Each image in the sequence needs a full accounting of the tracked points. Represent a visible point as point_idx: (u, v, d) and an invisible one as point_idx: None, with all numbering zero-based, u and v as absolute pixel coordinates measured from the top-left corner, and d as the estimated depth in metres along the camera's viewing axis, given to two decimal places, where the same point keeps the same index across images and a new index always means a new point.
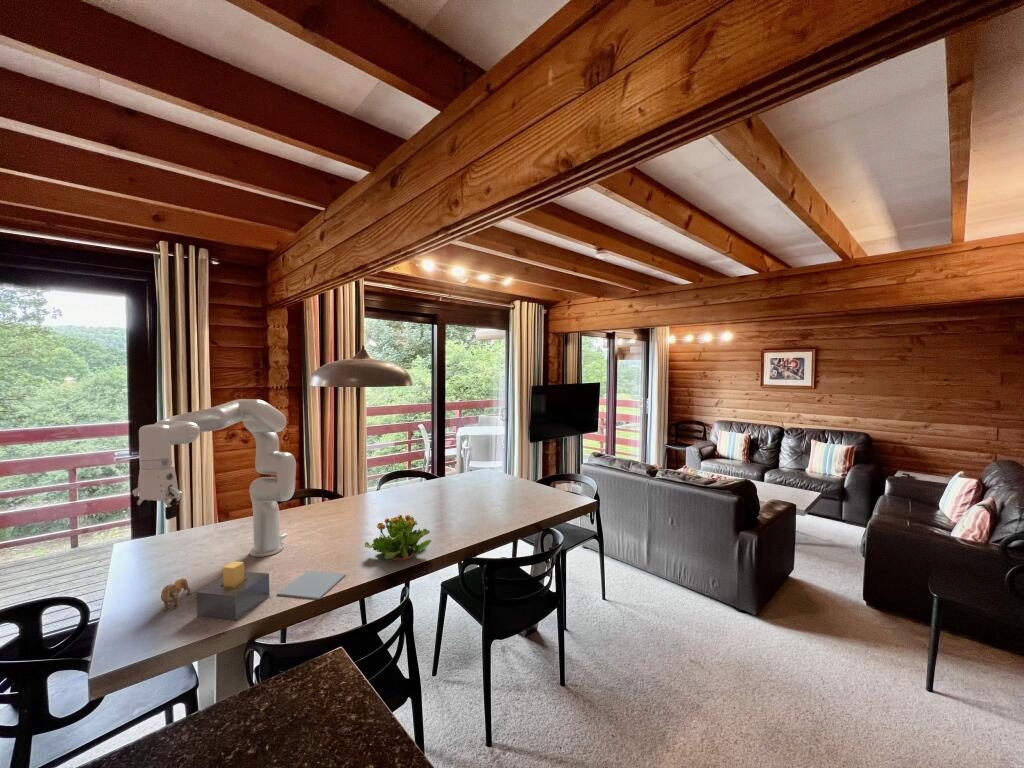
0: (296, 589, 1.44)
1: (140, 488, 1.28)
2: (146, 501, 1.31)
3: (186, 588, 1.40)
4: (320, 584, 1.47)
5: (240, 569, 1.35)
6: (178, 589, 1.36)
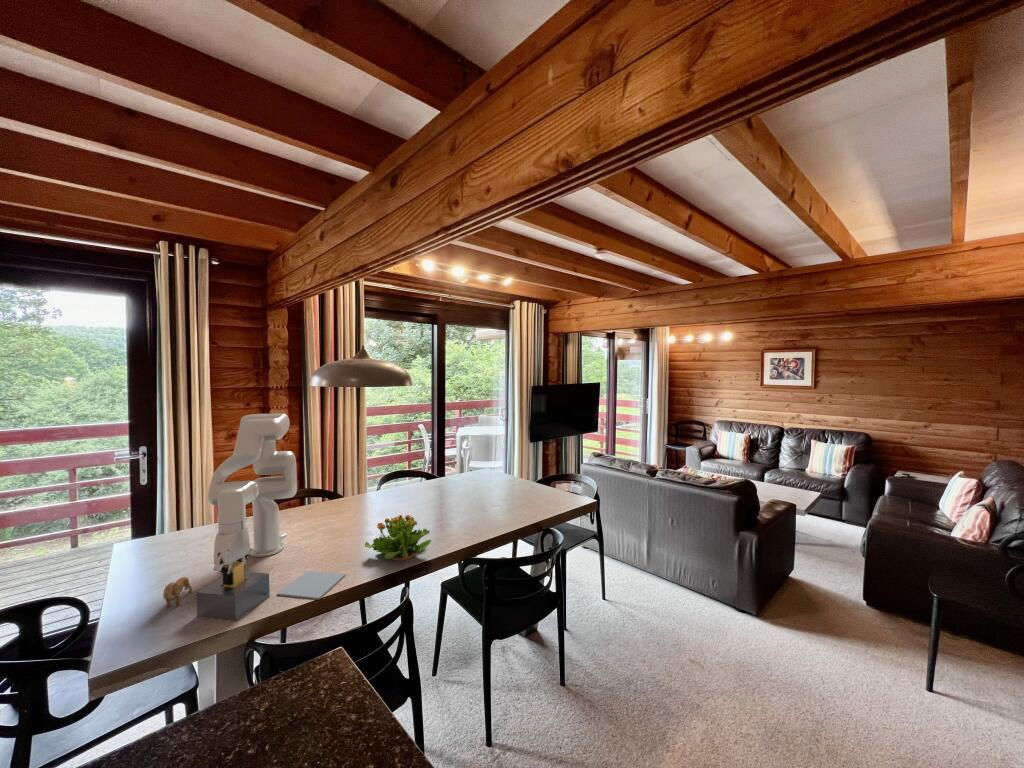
0: (296, 589, 1.44)
1: (230, 553, 1.30)
2: None
3: (188, 586, 1.41)
4: (320, 584, 1.47)
5: (240, 569, 1.35)
6: (180, 587, 1.37)
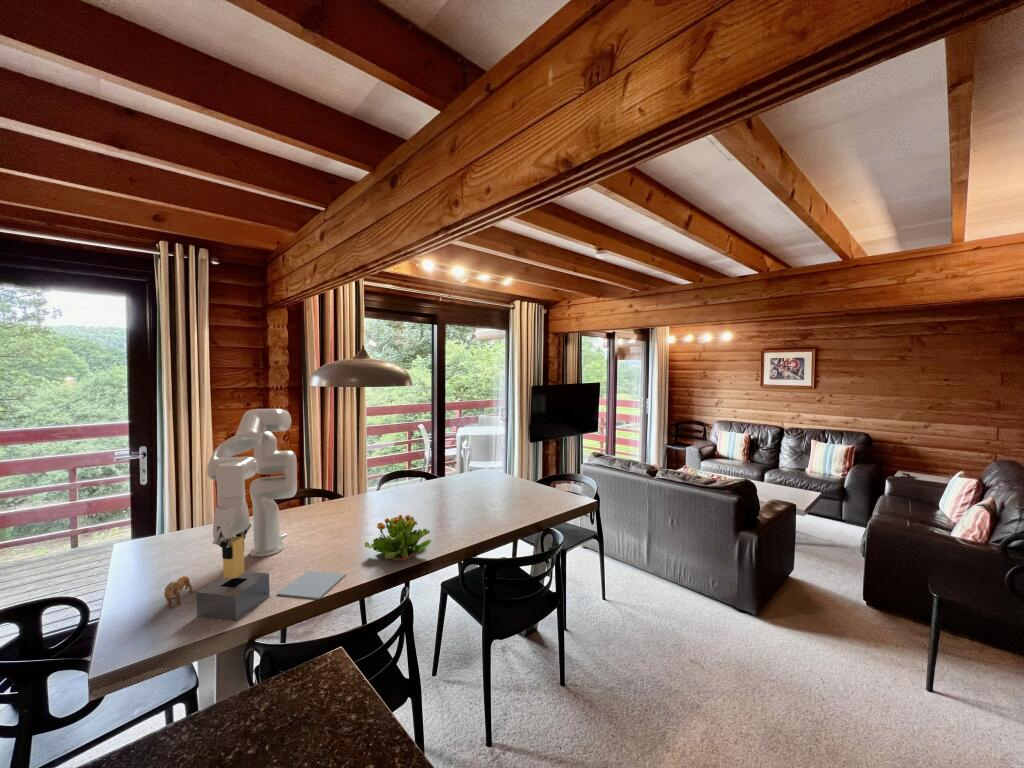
0: (296, 589, 1.44)
1: (229, 527, 1.30)
2: None
3: (188, 585, 1.42)
4: (320, 584, 1.47)
5: (240, 544, 1.35)
6: (181, 586, 1.38)
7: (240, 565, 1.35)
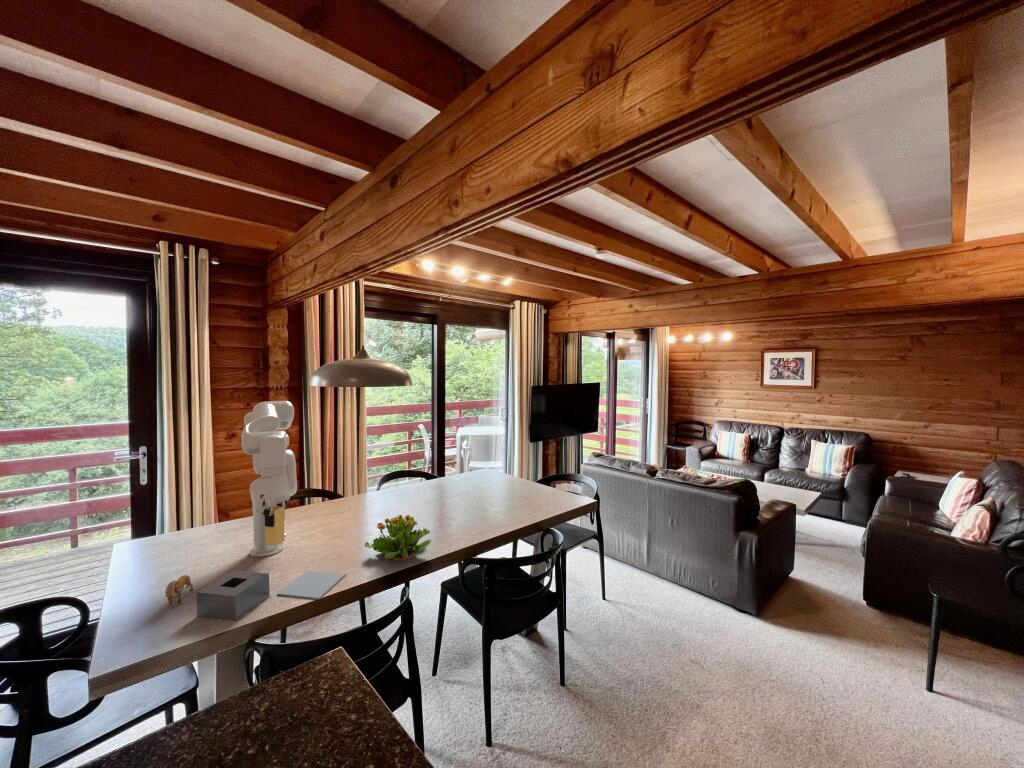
0: (296, 589, 1.44)
1: (271, 496, 1.36)
2: None
3: (189, 584, 1.42)
4: (320, 584, 1.47)
5: (280, 513, 1.41)
6: (182, 585, 1.38)
7: (281, 534, 1.41)
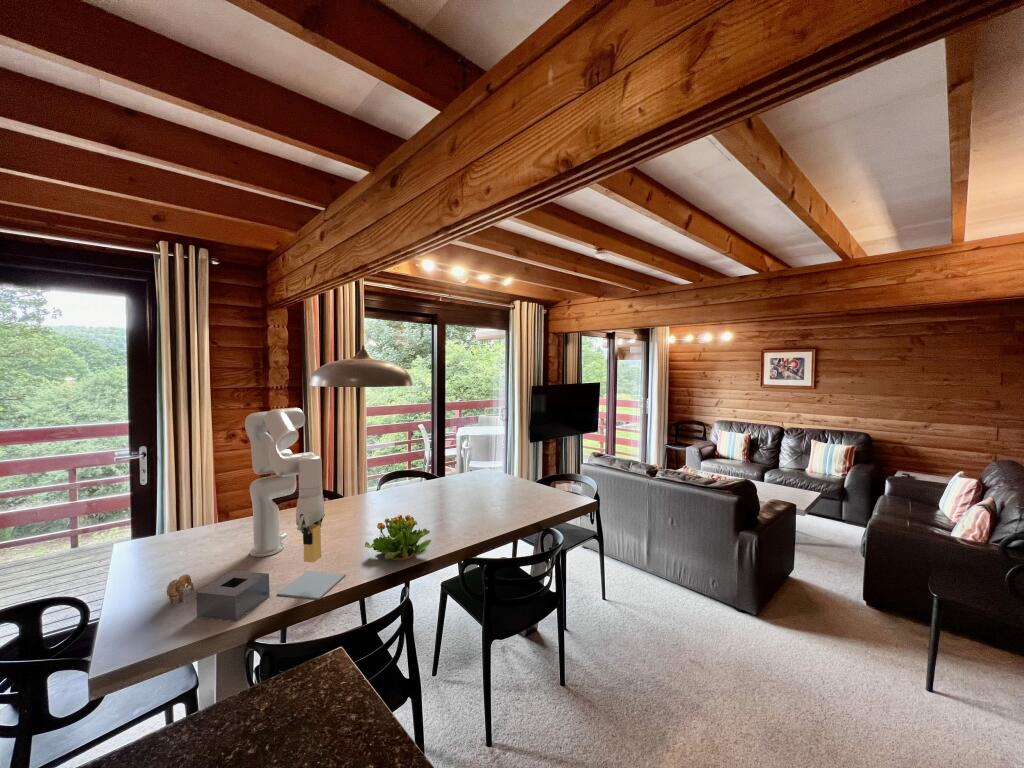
0: (296, 589, 1.44)
1: (310, 515, 1.43)
2: None
3: (190, 583, 1.43)
4: (320, 584, 1.47)
5: (318, 530, 1.47)
6: (183, 584, 1.39)
7: (318, 551, 1.47)
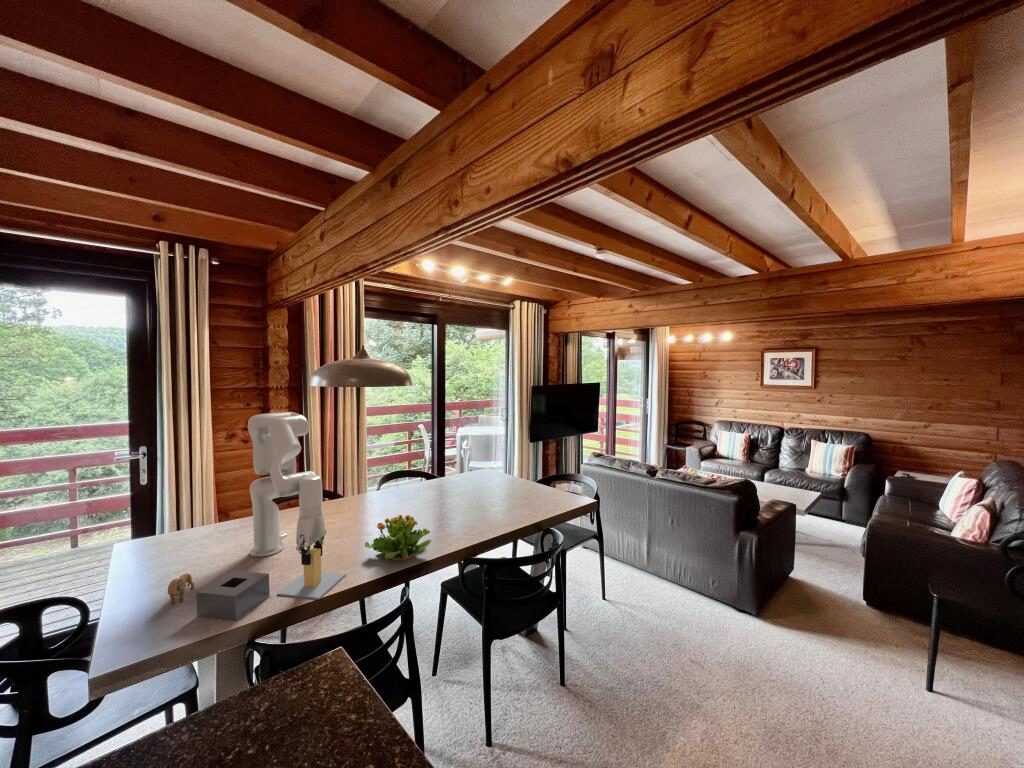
0: (296, 589, 1.44)
1: (310, 535, 1.43)
2: None
3: (190, 582, 1.44)
4: (320, 584, 1.47)
5: (318, 555, 1.48)
6: (183, 583, 1.39)
7: (318, 575, 1.48)
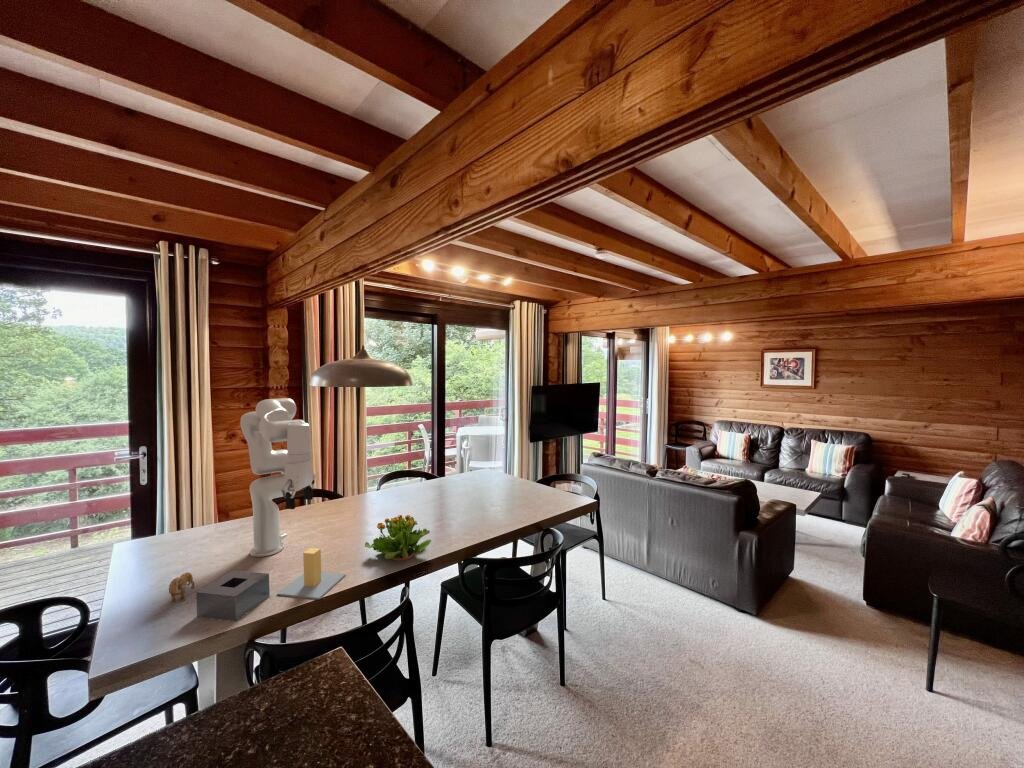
0: (296, 589, 1.44)
1: (298, 480, 1.44)
2: None
3: (191, 581, 1.44)
4: (320, 584, 1.47)
5: (318, 555, 1.48)
6: (184, 582, 1.40)
7: (318, 575, 1.48)
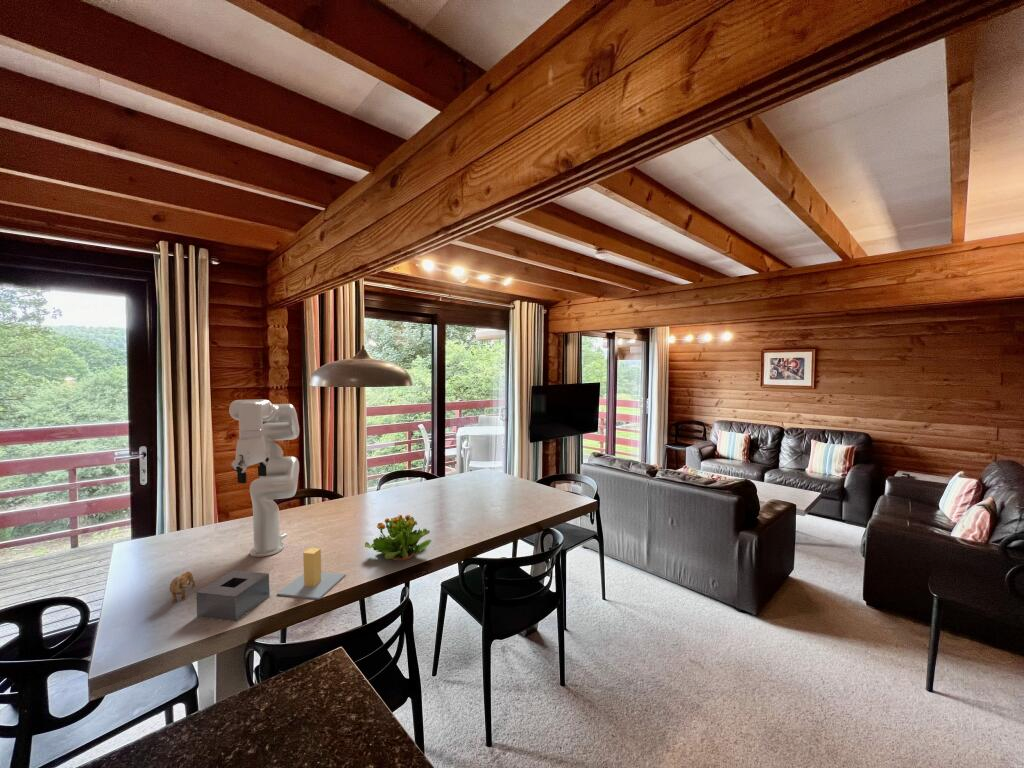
0: (296, 589, 1.44)
1: (249, 456, 1.51)
2: None
3: (192, 581, 1.45)
4: (320, 584, 1.47)
5: (318, 555, 1.48)
6: (185, 581, 1.41)
7: (318, 575, 1.48)
